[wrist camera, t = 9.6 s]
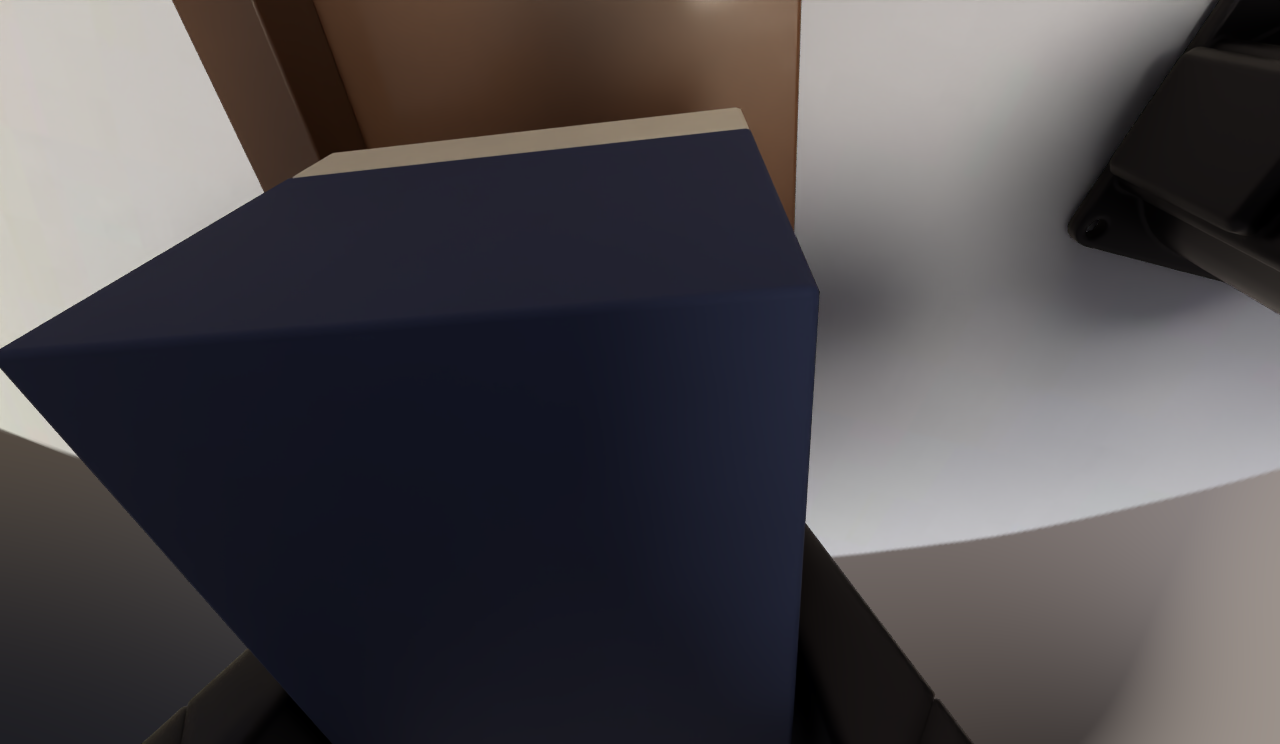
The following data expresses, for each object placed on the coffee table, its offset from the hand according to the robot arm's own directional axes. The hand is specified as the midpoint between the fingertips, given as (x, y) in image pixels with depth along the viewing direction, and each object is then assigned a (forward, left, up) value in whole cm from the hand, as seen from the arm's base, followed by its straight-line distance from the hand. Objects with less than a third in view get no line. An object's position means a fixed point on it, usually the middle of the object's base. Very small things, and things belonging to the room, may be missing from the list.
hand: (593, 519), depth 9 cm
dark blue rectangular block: (0, 0, -1) cm, 1 cm away
